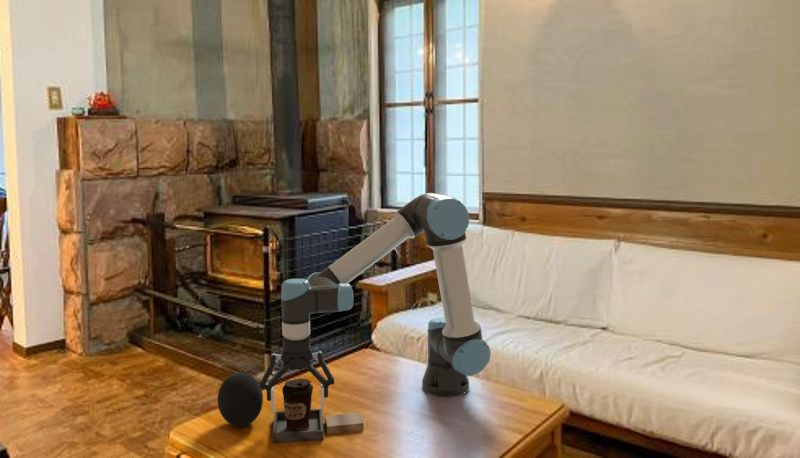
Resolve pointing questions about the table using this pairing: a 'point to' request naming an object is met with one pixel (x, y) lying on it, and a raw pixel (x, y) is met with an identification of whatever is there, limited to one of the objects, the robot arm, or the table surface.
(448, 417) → the table surface
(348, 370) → the table surface
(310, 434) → the tray
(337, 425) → the beige rectangular box
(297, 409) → the coffee cup
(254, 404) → the decorative egg
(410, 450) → the table surface
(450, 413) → the table surface
